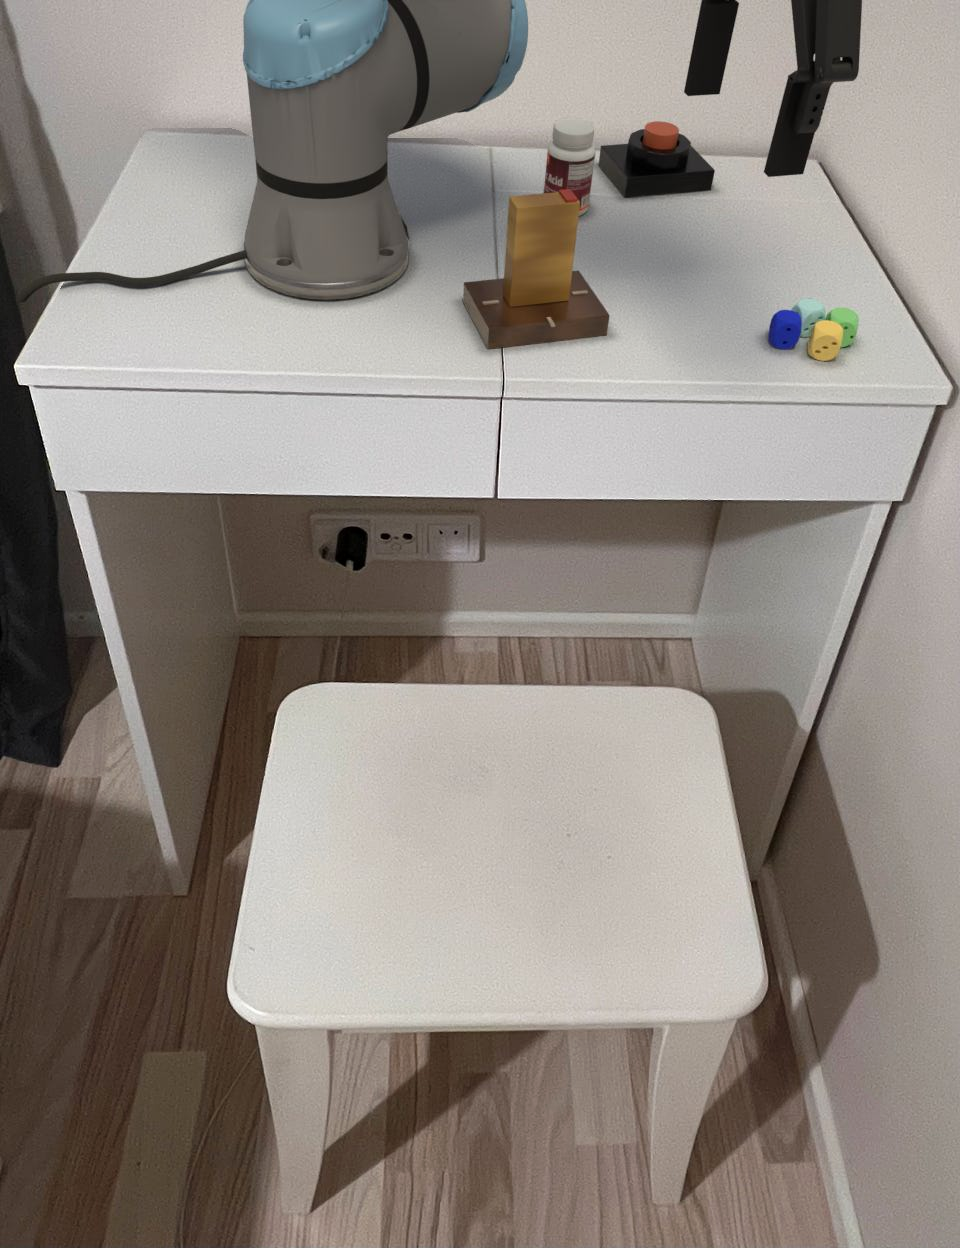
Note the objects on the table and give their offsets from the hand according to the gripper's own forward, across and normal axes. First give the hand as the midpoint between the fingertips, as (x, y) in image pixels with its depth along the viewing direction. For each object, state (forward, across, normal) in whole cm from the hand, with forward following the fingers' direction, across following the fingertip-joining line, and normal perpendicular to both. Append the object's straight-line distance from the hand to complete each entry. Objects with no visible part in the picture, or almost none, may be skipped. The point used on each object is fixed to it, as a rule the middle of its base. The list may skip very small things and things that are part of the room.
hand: (740, 131), depth 82 cm
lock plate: (+20, +9, +11) cm, 25 cm away
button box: (+20, +34, -12) cm, 41 cm away
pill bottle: (+21, +29, 0) cm, 36 cm away
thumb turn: (+18, +9, +11) cm, 23 cm away
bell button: (+17, +34, -11) cm, 40 cm away
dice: (+18, +3, -12) cm, 22 cm away
